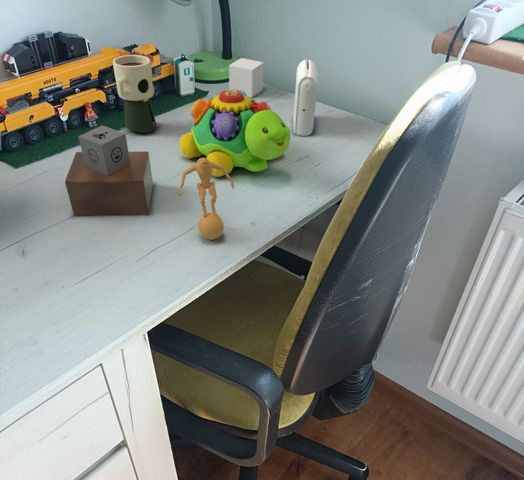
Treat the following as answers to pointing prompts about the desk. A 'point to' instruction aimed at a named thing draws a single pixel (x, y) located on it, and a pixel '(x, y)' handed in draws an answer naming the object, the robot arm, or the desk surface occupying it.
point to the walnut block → (111, 188)
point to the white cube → (246, 76)
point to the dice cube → (104, 150)
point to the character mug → (135, 91)
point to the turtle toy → (235, 132)
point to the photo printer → (305, 97)
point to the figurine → (209, 222)
